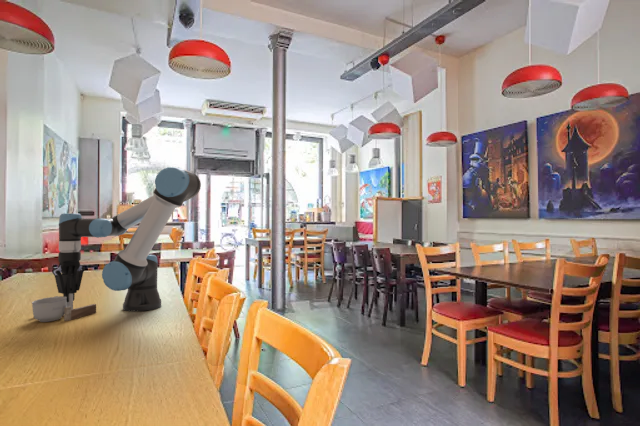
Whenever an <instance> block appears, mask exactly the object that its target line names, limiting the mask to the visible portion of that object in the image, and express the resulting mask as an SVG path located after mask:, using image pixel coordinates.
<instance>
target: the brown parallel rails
mask: <svg viewBox="0 0 640 426" xmlns="http://www.w3.org/2000/svg"><path fill="white" fill-rule="evenodd" d="M96 313H97V304H96V303H93V304H92V303H91V304H89V305H84V306H80V307H76V308H73V309H72V310H71V307H65V309H64V315H63V317H64V320H63V321H64V322H68V321H72V320H75V319H79V318H82V317H86V316H90V315H93V314H96Z"/></svg>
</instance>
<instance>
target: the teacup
mask: <svg viewBox="0 0 640 426" xmlns="http://www.w3.org/2000/svg"><path fill="white" fill-rule="evenodd" d="M66 299H67V297H64V296H63V295H62V296H60V295H59V296H58V295H57V296H51V297H44V298H40V299H36V300H32V302H31V304H32V314H33V318H34V319H35V320H36V321H38V322H41V323H46V322H53V321H57V320H60V319H61V318H63V317H64V309H65V307H67V300H66Z"/></svg>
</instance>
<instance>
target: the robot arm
mask: <svg viewBox="0 0 640 426" xmlns="http://www.w3.org/2000/svg"><path fill="white" fill-rule="evenodd" d="M201 185H202V184H201V179H200V178H199V176H198V174H196V173H195V172H193V171H192V170H191V171H190V170H186V169H184V168H182V167H179V166H178V167H177V166H168V167H164V168H163V169H161V170H160V171H159V172H158V173H157V175H156V177H155V179H154V186H155V188H154V190H153V192H152V193H153V195H151V196H150V197H148V198H146V199H144V200H143V201H140V202H139V203H137V204H135V205H133V206H131V207H129V208H127V209H126V210H124V211H122V212H120V213H119V214H116V215H115V216H113V217H111V218H83V217H82V214H81V213H65V212H64V213H61V214H60V215H59V220H58V238H59V239H58V251H59V252H58V258H57V259H58V262H59V264H58V267H57V268H56V269H55V270H54V269H53V270H52V271H51V273H52V275H54V280H55V284H56V288H57V292H58V294H62V296H64V297H67V299H66V300H67V307H71V310H72V309H74V302H75V296H76V295H75V294H76V293H77V291H80V288H81V284H82V281H83V280H82V279H83V277H84V273H85V270H86V266H82V265H81V263H80V261H81V259H82V256H81V254H82V252H81V250H82V238H98V239H99V238H106V237H112V236H113V237H118V236H120V235H121V236H122V235H124V234H126V232H127V231H128V230H129V229H130V228H133V227H135V226H137V225H138V226H137V228H136V230H135V231H134V233H133V235H132V236H131V239H130V240H129V242H128V244H127V245H126V247H125V249H122V250H119V251H118V253H117V255H116V257H114V260H112V261H110V262H108V263H106V265H104V267H103V268H102V271H101V278H102V280H103V283H104V285H105V286H106V287H107V289H110V290H112V291H115V292H116V291H117V292H121V291H126V290H127V292H126V295H125V298H124V302H123V303H122V310H123V311H125V312H144V311H151V310H156V309H159V308H161V307H162V299H161V297H160V293H159V291H158V265H159V262H158V257H157V256H156V255H155V254H150V253H151V252H152V249H153V247H154V246H155V244H156V243H157V241H158V240H159V237H160V235H161V234H162V233H163V230H164V229H165V226H166V225H167V224H168V222H169V220H170V218H171V217H172V215H173V212H175V209H178V208H180V207H181V206H182V205H183V203H184V202H187V201H189V200H190V199H193V198H194V197H196V196H197V195H198V194H199V193H200V190H201Z"/></svg>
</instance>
